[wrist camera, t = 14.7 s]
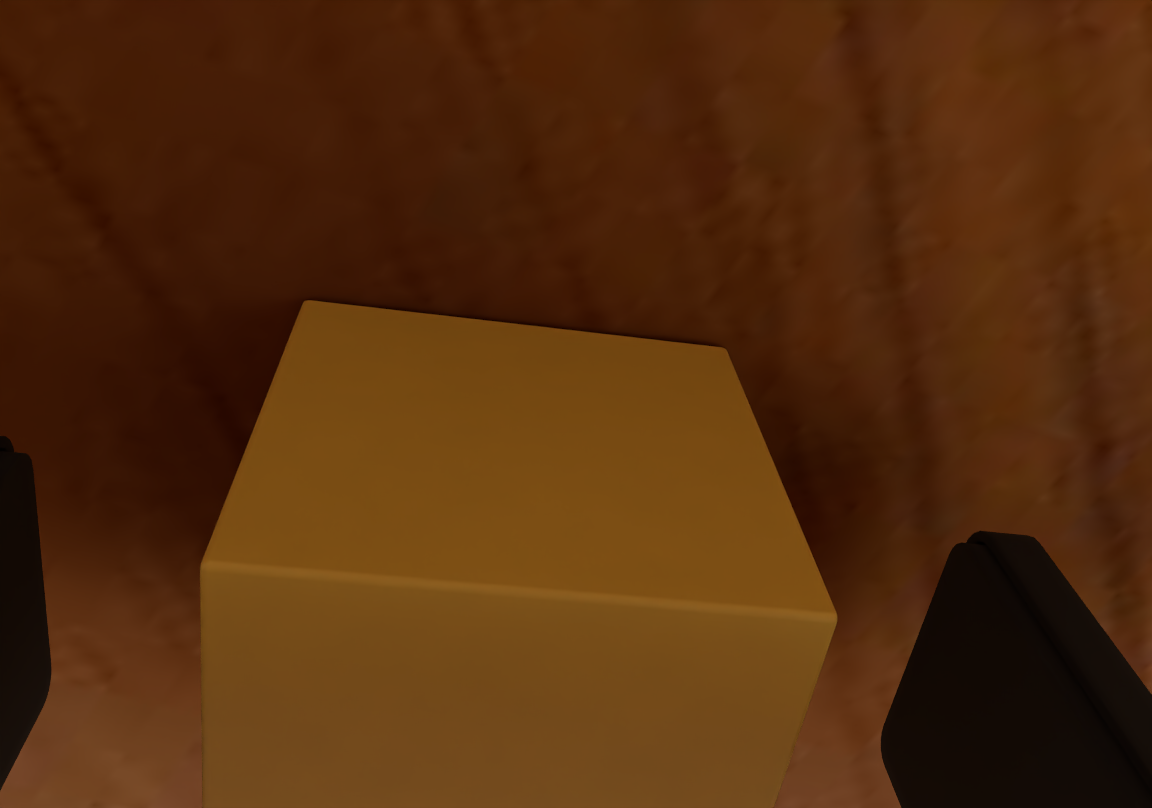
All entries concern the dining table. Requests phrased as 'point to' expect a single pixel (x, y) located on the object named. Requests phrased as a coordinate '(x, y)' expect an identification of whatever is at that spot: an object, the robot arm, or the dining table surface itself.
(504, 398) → the mustard block
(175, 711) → the dining table surface
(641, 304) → the dining table surface
